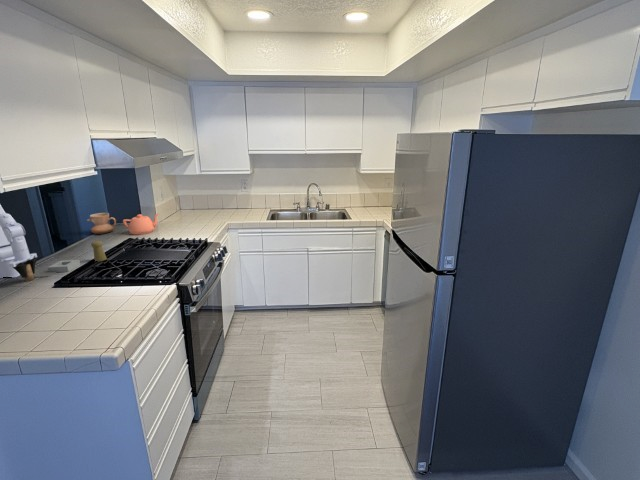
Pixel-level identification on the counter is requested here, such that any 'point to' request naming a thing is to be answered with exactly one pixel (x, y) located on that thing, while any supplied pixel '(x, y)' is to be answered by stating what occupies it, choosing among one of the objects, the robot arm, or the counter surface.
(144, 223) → the teapot
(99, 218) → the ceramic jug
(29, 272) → the peg
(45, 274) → the pad
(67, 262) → the socket
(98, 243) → the olive pepper mill
